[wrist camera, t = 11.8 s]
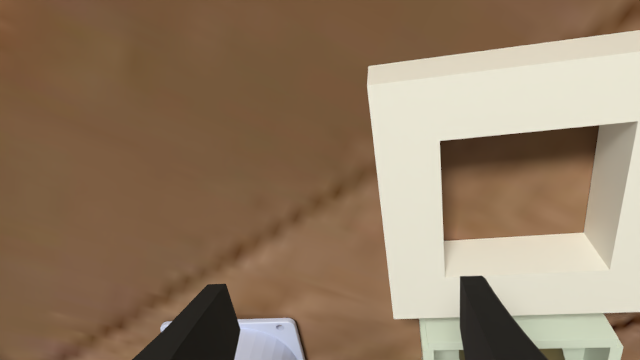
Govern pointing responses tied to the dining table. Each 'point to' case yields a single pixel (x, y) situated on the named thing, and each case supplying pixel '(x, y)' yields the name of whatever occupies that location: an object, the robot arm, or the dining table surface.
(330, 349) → the dining table surface
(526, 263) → the holder
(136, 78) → the dining table surface
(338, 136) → the dining table surface
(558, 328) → the tray
